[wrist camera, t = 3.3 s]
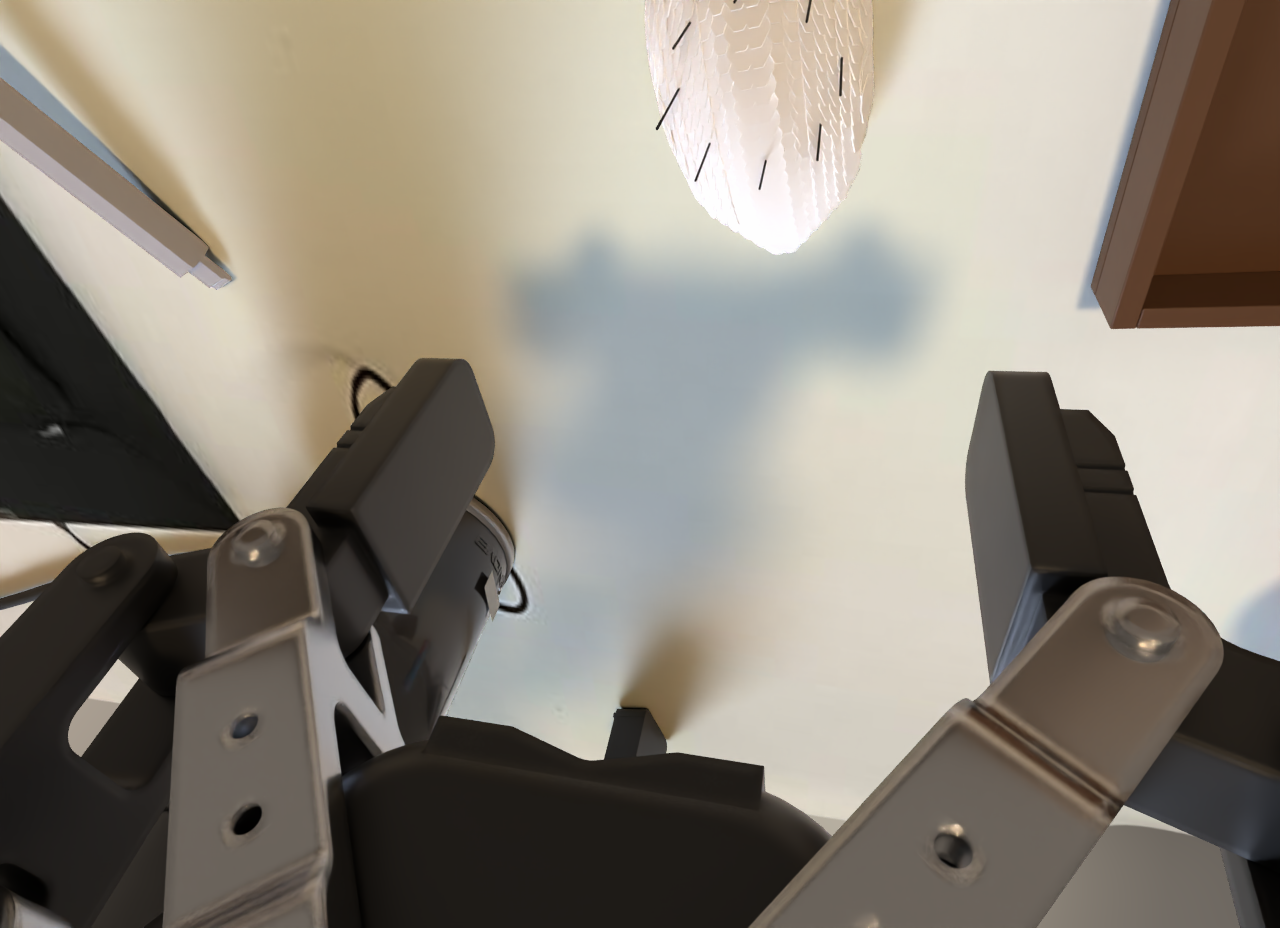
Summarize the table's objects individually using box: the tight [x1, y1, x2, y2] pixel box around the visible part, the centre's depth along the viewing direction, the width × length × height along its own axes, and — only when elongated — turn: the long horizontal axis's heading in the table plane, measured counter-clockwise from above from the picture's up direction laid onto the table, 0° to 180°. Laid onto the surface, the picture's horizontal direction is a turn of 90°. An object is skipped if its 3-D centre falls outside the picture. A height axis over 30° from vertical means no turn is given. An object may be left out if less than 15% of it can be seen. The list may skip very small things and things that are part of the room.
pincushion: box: [645, 0, 875, 255], centre depth 19 cm, size 12×6×6 cm, turn 15°
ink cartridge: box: [604, 709, 667, 760], centre depth 48 cm, size 5×2×8 cm, turn 19°
